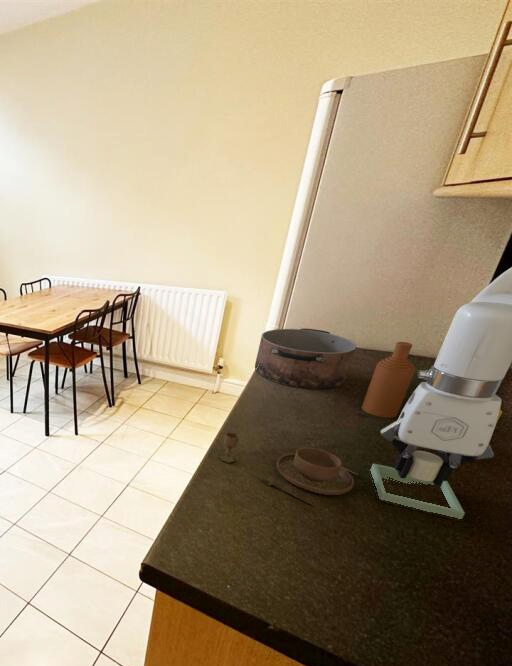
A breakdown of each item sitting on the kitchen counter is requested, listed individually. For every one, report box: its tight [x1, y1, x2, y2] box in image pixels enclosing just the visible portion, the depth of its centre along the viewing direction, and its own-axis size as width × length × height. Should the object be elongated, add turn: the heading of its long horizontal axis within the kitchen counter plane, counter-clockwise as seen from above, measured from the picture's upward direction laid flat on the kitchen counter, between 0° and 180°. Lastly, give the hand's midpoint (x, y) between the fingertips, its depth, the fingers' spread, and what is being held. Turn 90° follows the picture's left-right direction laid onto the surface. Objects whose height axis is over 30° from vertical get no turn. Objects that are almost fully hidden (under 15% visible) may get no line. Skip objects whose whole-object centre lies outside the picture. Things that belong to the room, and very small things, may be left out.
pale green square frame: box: [369, 463, 466, 519], centre depth 73 cm, size 10×10×2 cm
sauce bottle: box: [361, 341, 416, 419], centre depth 97 cm, size 7×7×18 cm
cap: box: [408, 450, 443, 481], centre depth 71 cm, size 4×4×4 cm
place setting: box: [223, 431, 360, 496], centre depth 81 cm, size 18×20×6 cm
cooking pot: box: [254, 328, 357, 390], centre depth 121 cm, size 30×22×11 cm
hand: (417, 477), depth 72 cm, fingers closed on cap, 3 cm apart
